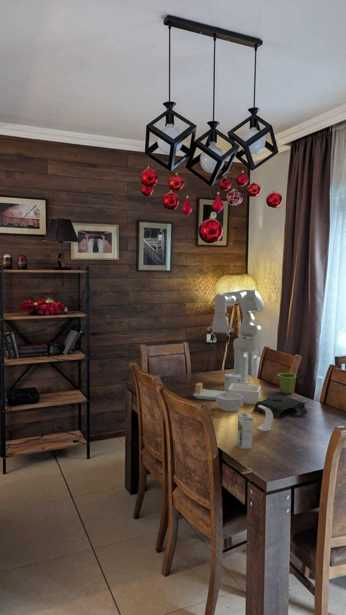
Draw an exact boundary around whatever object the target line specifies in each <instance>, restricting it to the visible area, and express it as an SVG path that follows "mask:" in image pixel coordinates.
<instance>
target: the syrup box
mask: <svg viewBox="0 0 346 615" xmlns="http://www.w3.org/2000/svg"><path fill="white" fill-rule="evenodd" d="M237 415H238V416H237V436H236V437H237V438H236V441H237V442H236V445H237V447H238V449H239V450H251V449H252V448H253V430H254V428H253V427H254V417H253V416H252V414H251V413H246V412H244V413H243V412H242V413H240V412H239V413H238V414H237Z"/></svg>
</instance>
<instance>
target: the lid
mask: <svg viewBox="0 0 346 615" xmlns="http://www.w3.org/2000/svg"><path fill="white" fill-rule="evenodd" d="M220 393H227V392H226V391H225V390H215V389H205V388H203V382H197V383H196V384H195V392H194V393H193V394H192V396H193V397H195V399H199V400H200V399H201V400H207V401H208V400H209V401H216V395H217V394H220Z"/></svg>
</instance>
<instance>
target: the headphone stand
mask: <svg viewBox="0 0 346 615" xmlns="http://www.w3.org/2000/svg"><path fill="white" fill-rule="evenodd" d="M258 407H259V408H262V409H264V410H265V413H266V415H265V418H264V421H263V422H262V424H261V425H259V426H257V428H256V429H257V430H259V431H261V432H268V431H271V430H272V428H271V426H272V424H273V422H274V417H273V413H272V411H271V410H270V409H269V408H266V407H264V406H261V405H258Z"/></svg>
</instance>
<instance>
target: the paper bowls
mask: <svg viewBox="0 0 346 615" xmlns="http://www.w3.org/2000/svg"><path fill="white" fill-rule="evenodd" d="M215 405H217V407H219V408H220V410H221V411H223V412H229V413H230V412H231V413H232V412H237V411H239V409H240V408H241V407H243V405H244V404H243V396H242V395H240V394H236V393H228V392H226V393H220V394H217V395H216V400H215Z"/></svg>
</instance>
